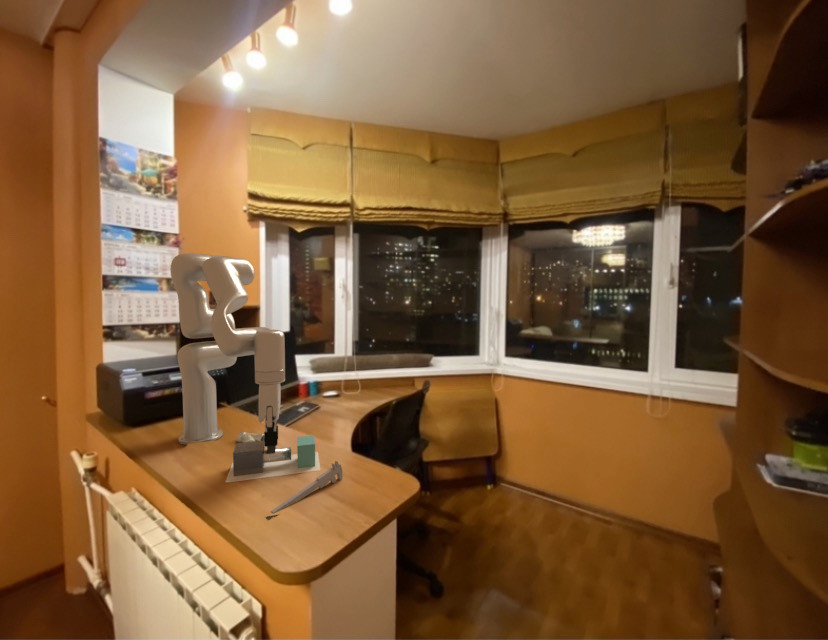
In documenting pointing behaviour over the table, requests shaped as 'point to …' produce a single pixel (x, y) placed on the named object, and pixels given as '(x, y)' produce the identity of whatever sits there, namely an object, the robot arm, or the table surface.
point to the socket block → (306, 451)
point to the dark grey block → (248, 458)
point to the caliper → (312, 486)
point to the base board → (276, 469)
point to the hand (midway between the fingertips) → (271, 442)
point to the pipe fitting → (249, 437)
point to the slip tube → (276, 454)
